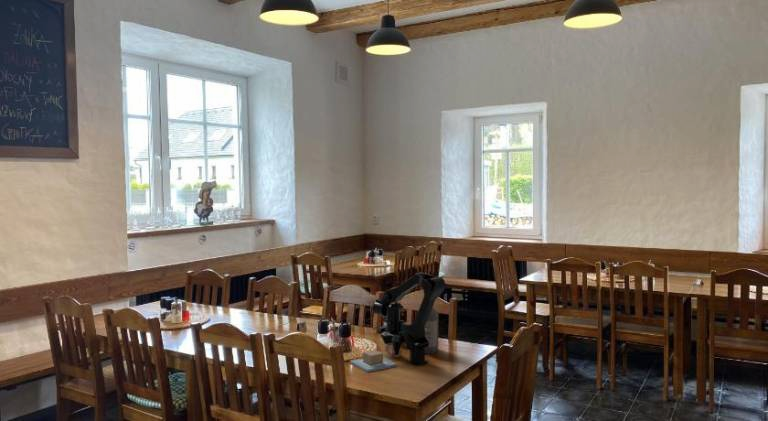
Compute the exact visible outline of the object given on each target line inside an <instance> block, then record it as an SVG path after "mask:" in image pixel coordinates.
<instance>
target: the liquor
mask: <svg viewBox="0 0 768 421" xmlns="http://www.w3.org/2000/svg"><path fill="white" fill-rule="evenodd" d="M423 289H424V288H422V290H423ZM424 328H425V337H426V339H427V340H428V342H429V346H428V347H426V348H424V349H425V354H434V353H437V350H438V348H439V313H438V311H437V310H436V309H435V307H434V306H433V307H432V310H431V312H430V314H429V317H428V319H427V322H426V324H425V327H424ZM417 344H419V343H416V344H415V345H417Z"/></svg>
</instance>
